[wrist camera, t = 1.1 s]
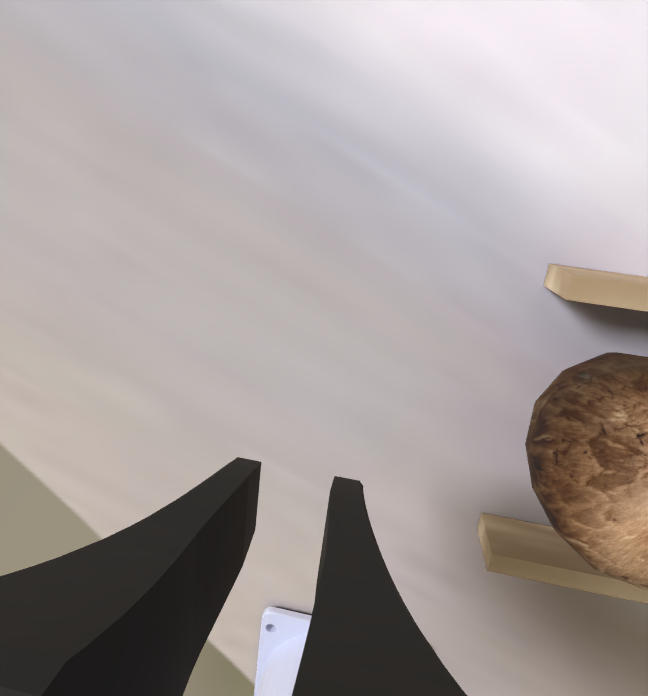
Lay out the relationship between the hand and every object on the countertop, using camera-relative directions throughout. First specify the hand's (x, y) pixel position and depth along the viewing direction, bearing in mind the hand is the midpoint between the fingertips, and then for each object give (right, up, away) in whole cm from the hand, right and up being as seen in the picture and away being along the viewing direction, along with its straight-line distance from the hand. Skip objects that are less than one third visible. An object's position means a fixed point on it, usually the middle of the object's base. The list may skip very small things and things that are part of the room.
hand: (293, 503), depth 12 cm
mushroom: (+12, +1, +7) cm, 14 cm away
